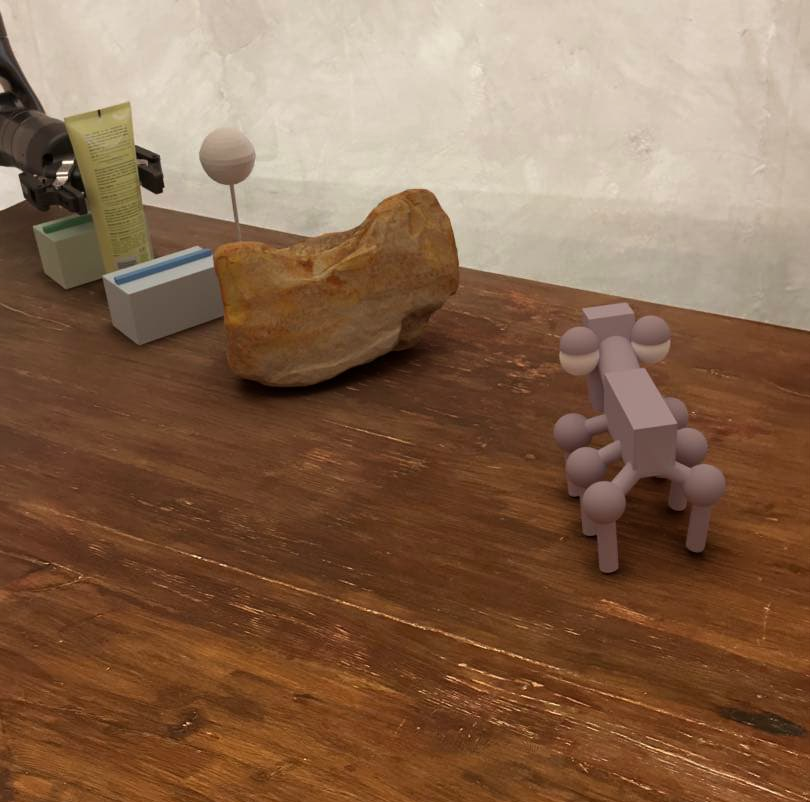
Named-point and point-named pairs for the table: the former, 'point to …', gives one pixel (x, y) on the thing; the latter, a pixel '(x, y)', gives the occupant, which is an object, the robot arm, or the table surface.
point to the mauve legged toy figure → (630, 428)
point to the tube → (111, 183)
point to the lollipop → (228, 161)
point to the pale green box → (72, 250)
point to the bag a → (164, 295)
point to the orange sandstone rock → (337, 293)
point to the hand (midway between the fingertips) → (121, 194)
